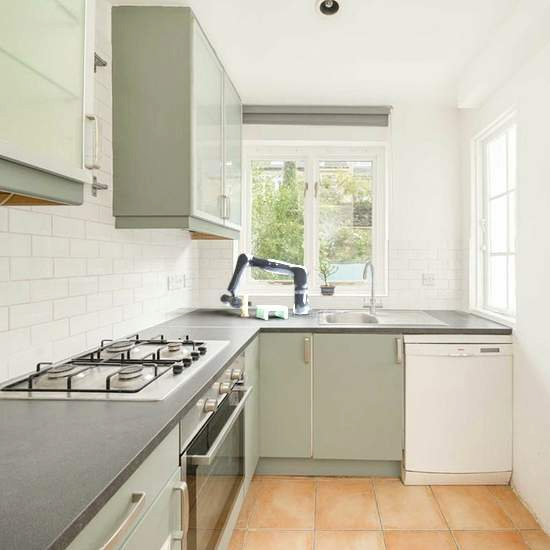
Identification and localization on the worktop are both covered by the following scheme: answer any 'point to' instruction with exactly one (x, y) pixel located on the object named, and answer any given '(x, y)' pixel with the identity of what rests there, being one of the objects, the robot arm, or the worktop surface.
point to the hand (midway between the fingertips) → (244, 304)
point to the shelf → (263, 310)
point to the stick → (244, 306)
